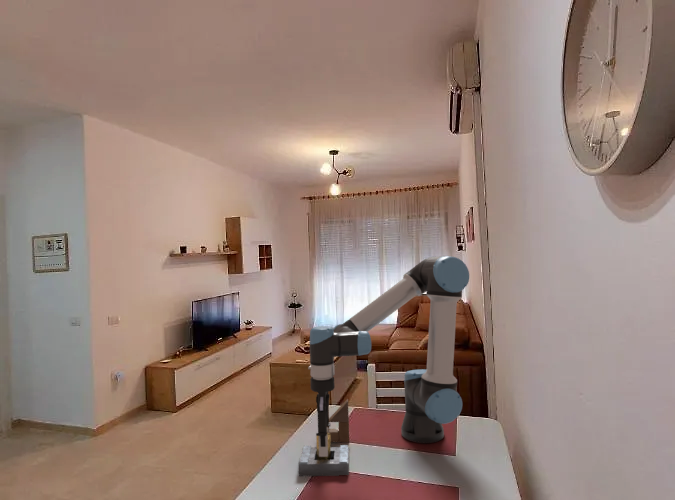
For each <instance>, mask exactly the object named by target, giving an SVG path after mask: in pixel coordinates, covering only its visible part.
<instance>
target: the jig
mask: <svg viewBox="0 0 675 500" xmlns="http://www.w3.org/2000/svg"><path fill="white" fill-rule="evenodd" d="M339 475H350V447H349V445H348V444H342V445H341V444H340V446H331V460H317V446H315V447H312V445H303V447H302V449H301V454H300V457H299V461H298V477H337V476H338V477H340V476H339Z"/></svg>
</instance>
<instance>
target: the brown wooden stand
mask: <svg viewBox="0 0 675 500" xmlns="http://www.w3.org/2000/svg"><path fill="white" fill-rule="evenodd" d="M328 419H329V422H328V423H338V429H336V428H330V426H327V427H328V428H329V433H330V438H331V443H350V420H349V399H348V398H347V399H346V400H345V401H344V402H343V403H342V404H341V405H340V406H339V407H338V408H337V409H336V410H335V412H333V414H331V416H330V406H329V407H328Z"/></svg>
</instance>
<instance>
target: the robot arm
mask: <svg viewBox="0 0 675 500" xmlns="http://www.w3.org/2000/svg"><path fill="white" fill-rule="evenodd" d="M469 282H470V271H469V268H468V266H467V265H466V263H465V262H464V261H463V260H462V259H460V258H459V257H455V256H451V255H443V256H430V257H427V258H424V259H423V260H422V261H419V262H418V263H417V264H416V265H415V266H413V267H412V268H411V269H409V270H408V271H407V272H405V273H404V275H403V277H402V279H401V280H399V282H397V283H396V284H394V285H393V286H392V287H390V288H389V289H387V290H386V291H385V292H384V293H382V294H381V295H379V296H378V297H376V298H375V299H374V300H373V301H371V302H370V303H369V304H368V305H366V306H365V307H364V308H363V307H362V309H361V310H359V311H358V312H357V313H355V314H354V315H353V316H351V317H350V318H349V319H347V320H346V321H344V322H343V323H341V324H336V325H335V326H334V327H332V326H326V325H325V326H323V325H321V326H319V325H318V326H314V327H312V328H311V329H310V331H309V341H308V343H309V364H310V365H309V366H308V367H307V369H308V370H310V371H309V372H310V376H311V377H310V390H311V391H312V392H316V396H315V403H316V412H317V432H316V433H315V437H316V436H319V457H328V435H327V433H329V429H330V427H331V422H329V419H328V407H329V408H330V392H331V391H334V389H335V377H334V376H335V357H336V358H338V357H354V356H359V357H360V356H363V355H368V354H370V353H371V351H372V338H371V335H370V333H369V332H370V331H371V330H373V329H374V328H375V327H376V326H378V325H379V324H381V323H382V322H383V321H384V320H386V319H387V318H388V317H389V316H391V315H392V314H393V313H395V312H396V311H397V310H399V309H401V307H403V306H404V305H406V304H407V303H408V302H409V301H410V300H412V299H413V298H415V297H416V296H418V297H421V296H422V295H423V294H425V293H426V294H425V295H426V296H427V298H428V299H429V300H430V304H429V305H430V306H429V322H428V339H427V340H428V341H427V354H426V355H427V356H426V358H427V359H426V369H425V368H424V369H422V368H421V369H412V370H407V371H406V372H405V373H404V377H403V378H404V379H403V383H404V402H405V403H404V405H405V413H404V417H403V419H402V423H401V428H400V429H401V431H400V432H401V433H400V434H401V436H402V437H403V438H404V439H406V440H408V441H410V442H413V443H418V444H433V443H437V442H439V441H441V440H443V438H444V437H445V431H444V430H445V429H444V426H443V425H446V424H450V423H452V422H454V421H455V420H456V419H457V418H458V417H459V416H460V414H461V412H462V410H463V399H462V397H461V396H460V394H459V392H458V391H457V389H458V388H457V387H458V379H457V377H455V376H454V361H455V360H454V359H455V358H454V357H455V343H456V342H455V341H456V340H455V339H456V323H457V320H456V319H457V303H458V302H459V301H460V300H461V299H462V298H463V290H464V289H465V288H466V287H467V285H468V284H469ZM328 422H329V423H328ZM327 426H329V428H328V427H327Z"/></svg>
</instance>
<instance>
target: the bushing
mask: <svg viewBox="0 0 675 500" xmlns="http://www.w3.org/2000/svg"><path fill="white" fill-rule="evenodd" d="M327 435H328V457H319V436H316V435H315V437H316V439H315V440H316V447H317V460H331V447H332V446H331V445H332V442H331V438H330V433H327Z"/></svg>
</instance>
